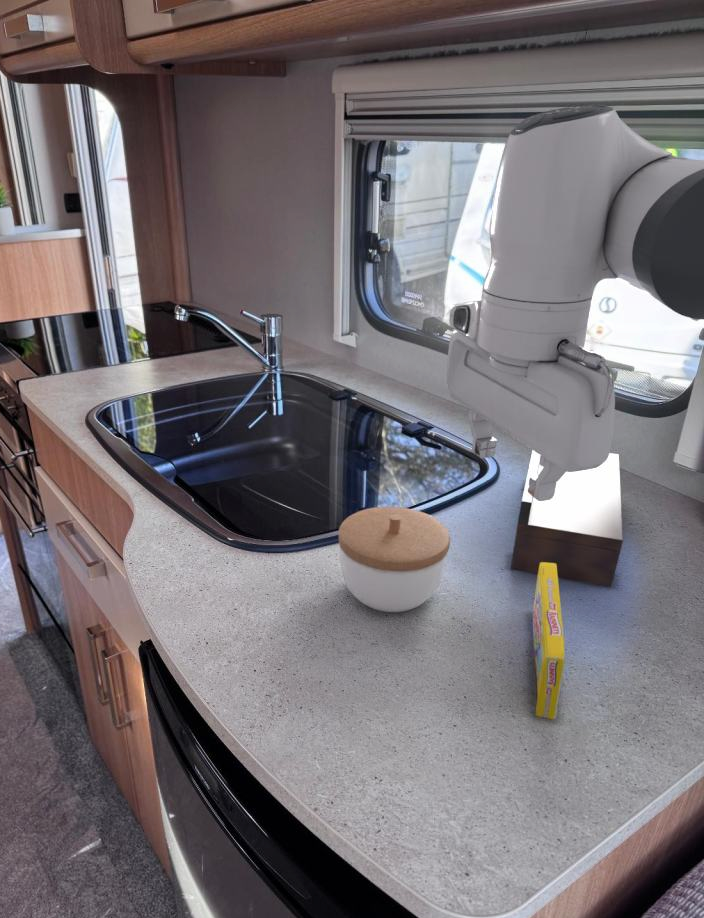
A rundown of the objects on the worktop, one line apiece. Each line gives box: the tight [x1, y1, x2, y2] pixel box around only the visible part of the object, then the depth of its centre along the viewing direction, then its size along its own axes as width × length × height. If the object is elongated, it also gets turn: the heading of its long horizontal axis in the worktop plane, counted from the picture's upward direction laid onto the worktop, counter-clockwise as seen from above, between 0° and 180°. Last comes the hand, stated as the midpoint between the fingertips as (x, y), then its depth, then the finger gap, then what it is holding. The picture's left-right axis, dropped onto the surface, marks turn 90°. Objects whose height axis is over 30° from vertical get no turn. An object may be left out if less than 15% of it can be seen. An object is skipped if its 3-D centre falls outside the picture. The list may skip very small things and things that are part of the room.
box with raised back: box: [509, 449, 624, 588], centre depth 98 cm, size 12×26×10 cm, turn 161°
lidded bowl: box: [338, 506, 451, 613], centre depth 84 cm, size 13×13×11 cm
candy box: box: [531, 562, 566, 720], centre depth 74 cm, size 16×2×8 cm, turn 167°
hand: (509, 475), depth 67 cm, fingers open, 8 cm apart
